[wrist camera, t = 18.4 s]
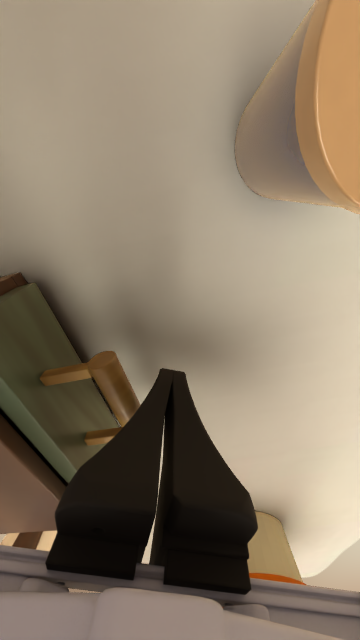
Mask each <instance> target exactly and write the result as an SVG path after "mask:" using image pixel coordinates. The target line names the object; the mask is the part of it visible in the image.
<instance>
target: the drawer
mask: <svg viewBox="0 0 360 640" xmlns="http://www.w3.org/2000/svg"><path fill="white" fill-rule="evenodd" d="M92 377H93V378H94V379H95V381H96V383H97V385H98V386H99V388H100V390H101V392H102V393H103V395H104V397H105V399H106V400H107V402H108V404H109V406H110V407H111V409H112V411H113V413H114V414H115V416H116V418H117V420H118V421H119V423H120V425H121V426H122V427H119V426H118V424H117V422H116V421H115V419H114V417H113V415H112V414H111V412H110V410H109V409H108V407H107V405H106V403H105V402H104V400H103V398H102V397H101V395H100V393H99V391H98V390H97V388H96V386H95V385H94V383H93V381H92V379H91V378H92ZM140 406H141V405H140V403H139V401H138V399H137V397H136V395H135V393H134V391H133V389H132V386H131V384H130V382H129V380H128V378H127V376H126V374H125V372H124V370H123V368H122V366H121V364H120V362H119V360H118V358H117V355H116V353H115V352H113V351H104V352H101V353H99V354H97V355H95V356H94V357H93V358H91V359H90V361H89V362H87V363H82V362H81V360H80V359H79V357H78V355H77V354H76V352H75V350H74V348H73V347H72V345H71V343H70V342H69V340H68V338H67V336H66V335H65V333H64V331H63V329H62V328H61V326H60V324H59V323H58V321H57V319H56V317H55V316H54V314H53V312H52V311H51V309H50V307H49V305H48V304H47V302H46V300H45V298H44V297H43V295H42V293H41V292H40V290H39V288H38V286H37V285H36V283H30V284H27V285H23V286H19V287H16V288H14V289H12V290H11V291H9V292H7V293H5V294H4V295H2V296H0V414H1V415H2V416H3V417H4V418H5V419H6V421H7V422H8V423H9V424H10V425H11V426H12V427H13V428H14V429H15V430H16V432H17V433H18V434H19V435H20V436H21V437H22V438H23V439H24V440H25V442H26V443H27V444H28V445H29V446H30V447H31V448H32V449H33V450H34V451H35V453H36V454H37V455H38V456H39V457H40V458H41V459H42V460H43V461H44V462H45V464H46V465H47V466H48V467H49V468H50V469H51V470H52V471H53V472H54V473H55V475H56V476H57V477H58V478H59V479H60V480H61V481H62V482H63V483H64V485H65V486H66V487H67V486H68V484H69V482H70V481H71V479H72V478H73V476H74V475H75V473H76V472H77V471H78V469H79V468H80V467H81V466H82V465H83V464H84V463H85V462H87V461H88V460H89V459H90V458H91V457H93V456H94V455H95V454H96V453H97V452H98V451H100V450H101V449H102V448H103V447H104V446H105V445H106V444H107V443H108V442H109V441H110V440H111V439H112V438H113V437H114V436H115V435H116V434H117V433H118V432H119V431H120V430H121V429H122V428H123V427H124V425H125V424H126V423H127V422H128V421H129V420H130V419H131V417H132V416H133V415H134V414H135V412H136V411H137V410H138V408H139V407H140Z"/></svg>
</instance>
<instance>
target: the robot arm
mask: <svg viewBox="0 0 360 640" xmlns="http://www.w3.org/2000/svg"><path fill="white" fill-rule="evenodd" d="M164 416H165V422H164ZM163 426H164V448H163V464H162V472H161V480H160V488H159V496H158V485H159V471H160V458H161V447H162V436H163ZM157 498H158V503H157ZM156 507H157V511H156ZM155 515H156V518H155ZM154 518H155V526H154V533H153V541H152V548H151V555H150V562H149V564H142V563H141V562H142V558H143V555H144V551H145V547H146V546H147V543H148V540H149V536H150V532H151V529H152V525H153V522H154ZM55 522H56V528H57V534H56V537H55V539H54V542H53V544H52V547H51V549H50V551H43V550H35V549H28V548H20V547H13V546H5V545H0V640H360V592H354V591H346V590H338V589H331V588H324V587H316V586H309V585H301V584H293V583H286V582H278V581H271V580H263V579H255V578H250V576H249V569H248V563H247V560H248V559H249V550H248V542H249V541H250V540H251V539H252V537H253V536H254V535H255V533H256V532H257V530H258V523H257V517H256V513H255V510H254V506H253V503H252V500H251V497H250V494H249V492H248V491H247V490H246V489H245V488H244V486H243V485H242V484H241V483H240V481H239V480H238V479H237V478H236V476H235V475H234V474H233V472H232V471H231V470H230V468H229V467H228V465H227V464H226V463H225V461H224V460H223V458H222V456H221V455H220V453H219V452H218V450H217V449H216V447H215V446H214V444H213V442H212V440H211V439H210V437H209V435H208V433H207V431H206V430H205V428H204V426H203V424H202V421H201V419H200V417H199V415H198V413H197V410H196V408H195V405H194V402H193V400H192V397H191V394H190V391H189V387H188V384H187V380H186V374H185V373H184V372H181V371H175V370H169V369H164V368H162V369H160V371H159V374H158V377H157V379H156V381H155V383H154V385H153V387H152V389H151V390H150V392H149V394H148V395H147V397H146V398H145V400H144V401H143V403H142V404H141V406H140V407H139V408H138V410H137V411H136V412H135V414H134V415H133V416H132V417H131V419H130V420H129V421H128V422H127V423H126V424H125V425H124V427H123V428H122V429H121V430H120V431H119V432H118V433H117V434H116V435H115V436H114V437H113V438H112V439H111V440H110V441H109V442H108V443H107V444H106V445H105V446H104V447H103V448H102V449H101V450H100V451H98V452H97V453H96V454H95V455H94V456H93V457H91V458H90V459H89V460H88V461H87V462H85V463H84V464H83V465H82V466H81V467H80V468H79V469H78V471H77V472H76V473H75V475H74V476H73V478H72V479H71V481H70V482H69V484H68V486H67V487H66V489H65V491H64V493H63V495H62V497H61V499H60V501H59V504H58V506H57V509H56V511H55ZM68 588H72V589H80V590H88V591H96V592H102V593H70V592H69V590H68ZM222 607H224V608H222Z"/></svg>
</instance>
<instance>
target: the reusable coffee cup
mask: <svg viewBox="0 0 360 640" xmlns="http://www.w3.org/2000/svg"><path fill="white" fill-rule="evenodd" d="M255 513H256V517H257V523H258V530H257V532H256V533H255V535H254V536H253V537H252V539H251V540H250V541H249V542H248V550H249V559H248V560H247V563H248V569H249V576H250V578H255V579H263V580H271V581H278V582H286V583H293V584H301V585H306V584H304V583H303V581H302V579H301V576H300V573H299V570H298V568H297V565H296V562H295V560H294V557H293V554H292V552H291V549H290V546H289V543H288V541H287V538H286V535H285V533H284V530H283V527H282V525H281V522H280V521H279V520H278V519H276V518H275V517H273V516H271V515H269V514H266V513H262V512H257V511H255ZM222 608H224V607H222Z"/></svg>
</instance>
